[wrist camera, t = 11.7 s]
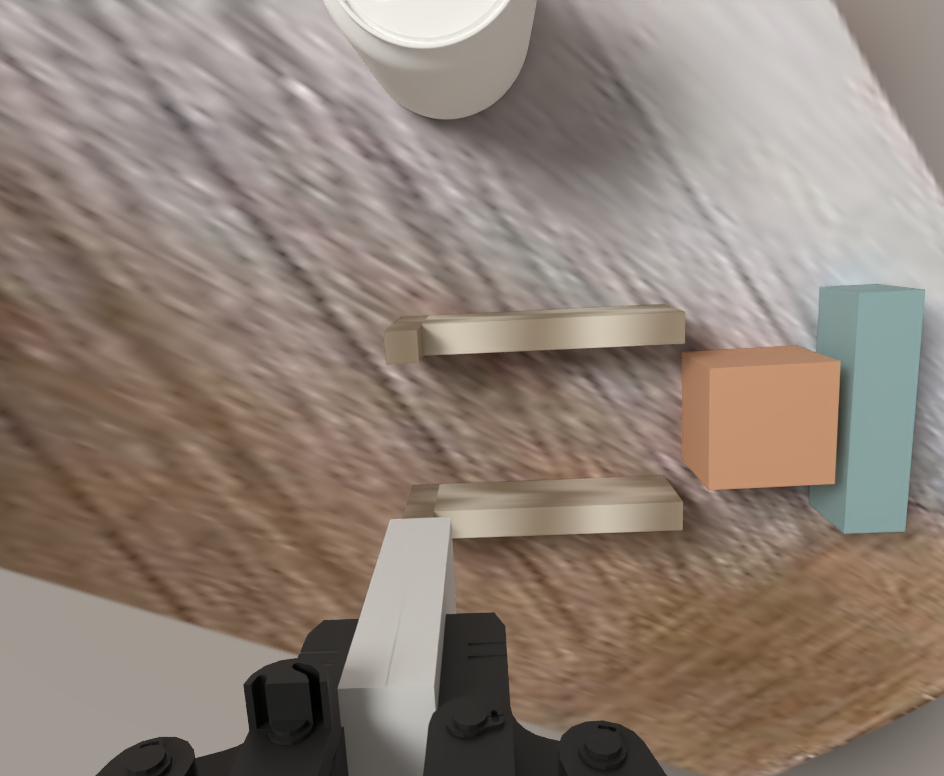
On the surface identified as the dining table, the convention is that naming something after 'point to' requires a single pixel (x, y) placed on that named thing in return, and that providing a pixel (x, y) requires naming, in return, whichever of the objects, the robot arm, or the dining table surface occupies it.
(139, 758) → the robot arm
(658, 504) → the parallel beige rails
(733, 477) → the block
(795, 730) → the dining table surface
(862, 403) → the stop block
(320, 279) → the dining table surface
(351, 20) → the beverage can
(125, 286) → the dining table surface
